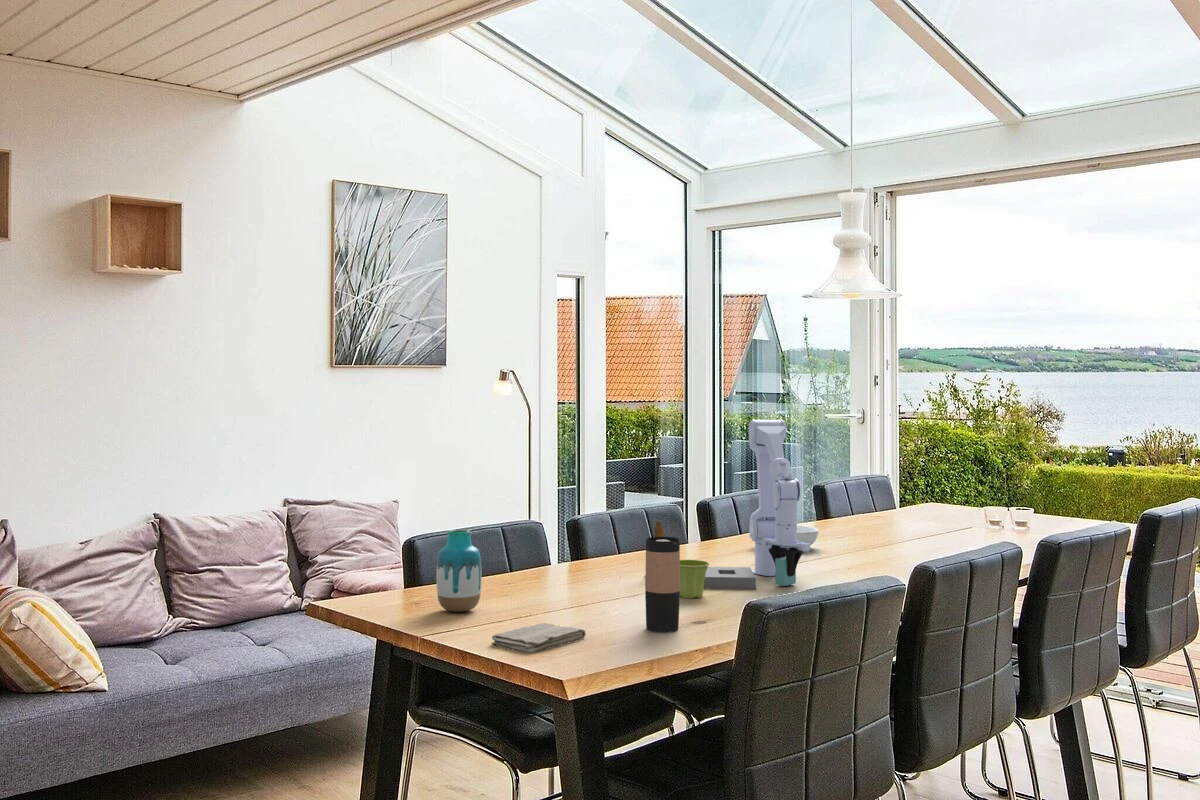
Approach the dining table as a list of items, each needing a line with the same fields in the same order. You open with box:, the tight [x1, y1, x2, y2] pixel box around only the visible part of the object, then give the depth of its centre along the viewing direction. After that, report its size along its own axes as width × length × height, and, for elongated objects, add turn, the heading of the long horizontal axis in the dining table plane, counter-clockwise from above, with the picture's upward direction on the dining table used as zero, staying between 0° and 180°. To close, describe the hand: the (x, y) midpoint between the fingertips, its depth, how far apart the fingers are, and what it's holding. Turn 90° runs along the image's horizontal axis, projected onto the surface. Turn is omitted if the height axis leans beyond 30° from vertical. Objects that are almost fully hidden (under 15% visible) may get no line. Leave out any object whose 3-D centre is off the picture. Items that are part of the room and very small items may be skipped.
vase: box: [436, 529, 482, 613], centre depth 259 cm, size 11×11×19 cm
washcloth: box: [491, 622, 587, 654], centre depth 230 cm, size 12×18×3 cm, turn 142°
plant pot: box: [680, 559, 710, 599], centre depth 279 cm, size 9×9×9 cm
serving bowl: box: [787, 524, 819, 550], centre depth 360 cm, size 21×21×7 cm
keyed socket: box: [703, 566, 757, 590], centre depth 298 cm, size 16×14×3 cm
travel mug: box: [644, 536, 681, 633], centre depth 242 cm, size 8×8×20 cm
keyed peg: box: [774, 557, 797, 587], centre depth 294 cm, size 5×3×7 cm, turn 133°
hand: (785, 574), depth 294 cm, fingers closed on keyed peg, 3 cm apart
